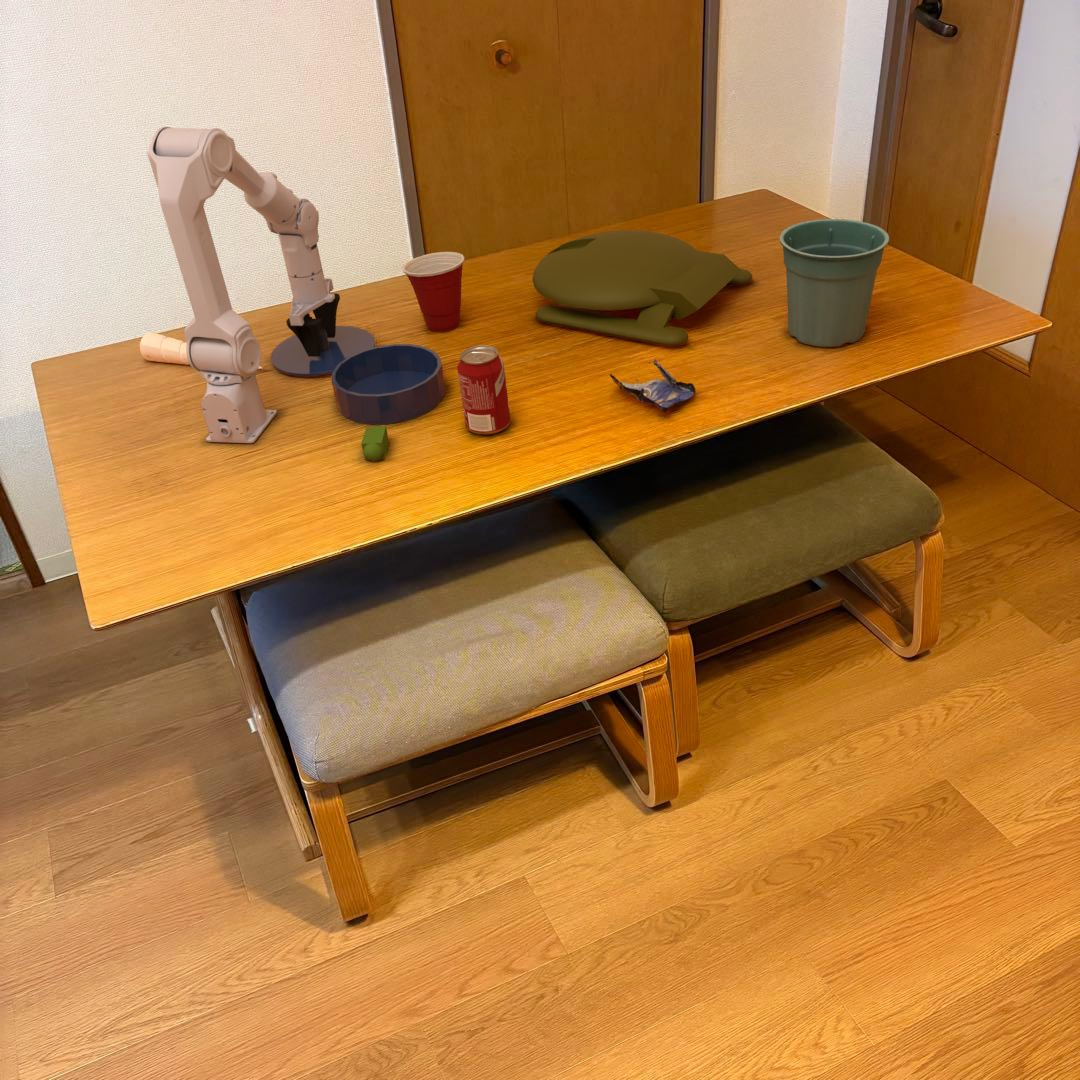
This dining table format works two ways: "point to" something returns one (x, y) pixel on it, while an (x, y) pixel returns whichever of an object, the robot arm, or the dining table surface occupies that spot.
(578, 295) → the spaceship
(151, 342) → the unicorn horn
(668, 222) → the dining table surface
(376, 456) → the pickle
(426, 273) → the plastic cup
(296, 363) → the pan lid
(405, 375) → the pan
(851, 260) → the flower pot
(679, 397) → the snack package
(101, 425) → the dining table surface
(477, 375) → the soda can
